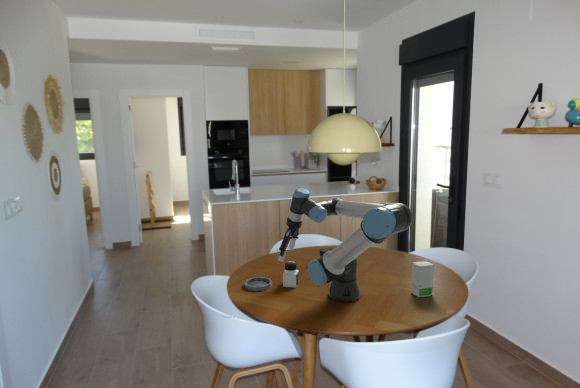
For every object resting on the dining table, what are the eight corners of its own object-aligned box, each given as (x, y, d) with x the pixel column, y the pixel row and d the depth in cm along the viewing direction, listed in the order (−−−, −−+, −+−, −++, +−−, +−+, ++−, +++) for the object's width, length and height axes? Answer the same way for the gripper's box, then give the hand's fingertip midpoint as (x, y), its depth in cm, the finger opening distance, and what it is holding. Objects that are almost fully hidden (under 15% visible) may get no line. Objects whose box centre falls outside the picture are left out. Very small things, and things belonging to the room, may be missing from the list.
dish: (277, 285, 210) (277, 281, 209) (257, 293, 200) (257, 289, 199) (259, 278, 219) (259, 275, 219) (239, 286, 209) (239, 282, 209)
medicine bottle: (296, 287, 206) (296, 265, 204) (282, 286, 207) (282, 264, 205) (299, 282, 213) (298, 260, 211) (285, 281, 214) (285, 260, 212)
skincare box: (417, 297, 191) (419, 266, 189) (410, 292, 197) (411, 262, 195) (433, 295, 193) (434, 264, 191) (425, 290, 200) (426, 260, 197)
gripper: (297, 207, 207) (288, 241, 216) (278, 225, 185) (269, 263, 194) (310, 212, 205) (301, 246, 214) (292, 231, 183) (283, 269, 192)
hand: (285, 254), depth 204 cm, fingers open, 13 cm apart
